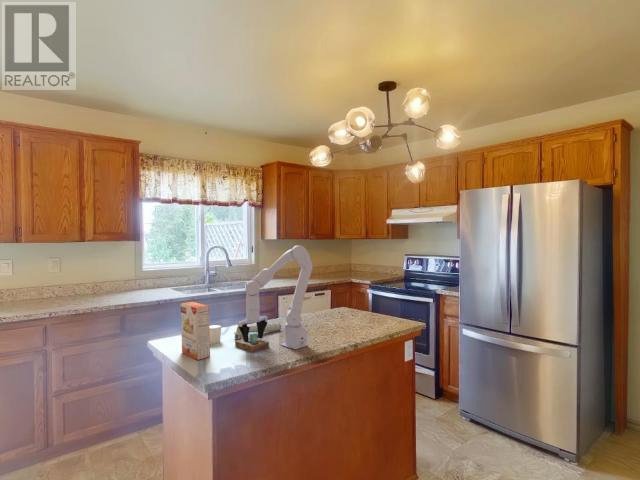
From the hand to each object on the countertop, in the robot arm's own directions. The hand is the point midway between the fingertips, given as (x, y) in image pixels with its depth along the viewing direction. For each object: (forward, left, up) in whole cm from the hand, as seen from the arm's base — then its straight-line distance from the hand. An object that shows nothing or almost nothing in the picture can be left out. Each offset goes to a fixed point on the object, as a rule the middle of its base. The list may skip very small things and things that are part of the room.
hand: (253, 339), depth 160 cm
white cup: (+21, +6, -3) cm, 22 cm away
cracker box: (+10, +22, -3) cm, 24 cm away
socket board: (+1, 0, -3) cm, 3 cm away
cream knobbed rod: (+15, -14, -4) cm, 21 cm away
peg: (0, 0, -3) cm, 3 cm away
